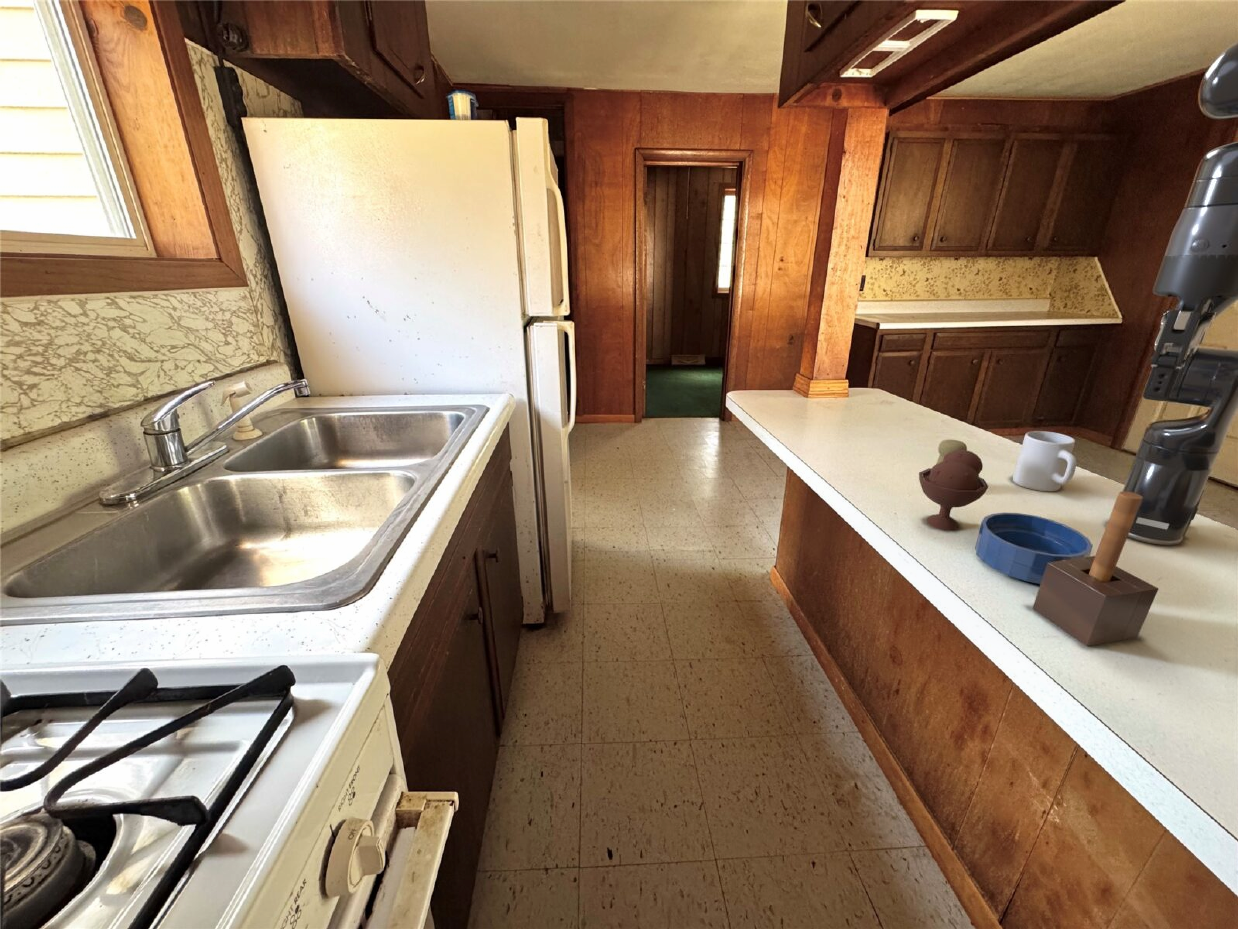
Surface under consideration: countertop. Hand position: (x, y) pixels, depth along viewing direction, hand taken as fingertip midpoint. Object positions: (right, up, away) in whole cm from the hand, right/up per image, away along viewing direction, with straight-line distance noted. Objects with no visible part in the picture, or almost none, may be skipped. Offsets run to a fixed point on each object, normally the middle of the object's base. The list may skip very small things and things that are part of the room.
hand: (1160, 392), depth 63 cm
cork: (+5, -14, +50) cm, 53 cm away
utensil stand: (-1, -31, +9) cm, 33 cm away
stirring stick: (-2, -31, +9) cm, 33 cm away
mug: (+26, -14, +49) cm, 57 cm away
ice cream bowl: (-4, -21, +36) cm, 42 cm away
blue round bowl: (+1, -26, +22) cm, 34 cm away
